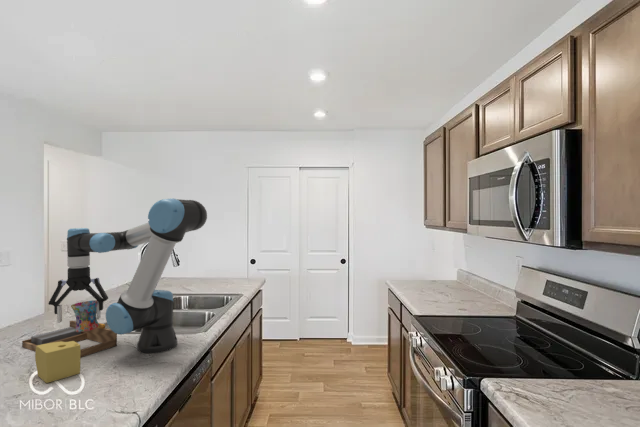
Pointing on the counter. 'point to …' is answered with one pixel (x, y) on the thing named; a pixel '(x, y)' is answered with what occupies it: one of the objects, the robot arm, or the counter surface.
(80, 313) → the mug
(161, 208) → the robot arm
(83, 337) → the rack
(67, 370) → the cheese
